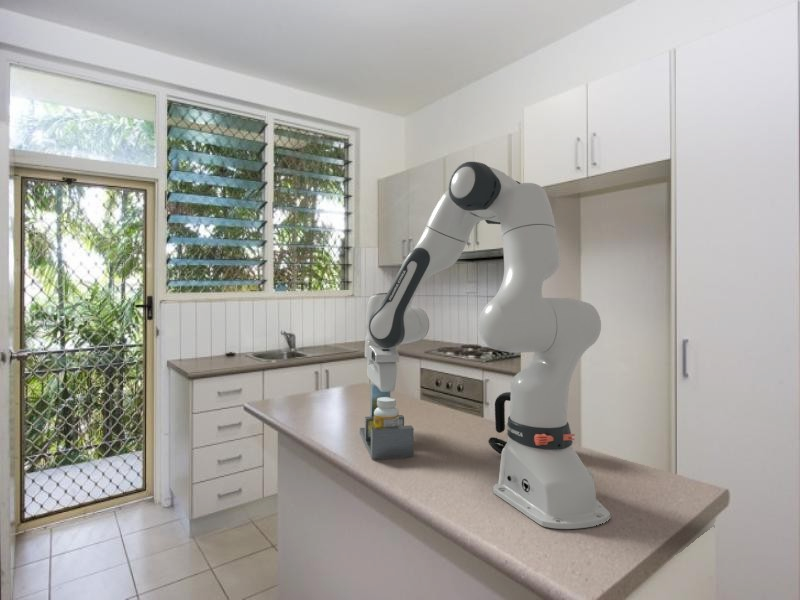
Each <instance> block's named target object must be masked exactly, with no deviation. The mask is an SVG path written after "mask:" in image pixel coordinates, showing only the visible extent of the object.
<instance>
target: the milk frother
mask: <svg viewBox="0 0 800 600" xmlns="http://www.w3.org/2000/svg"><path fill="white" fill-rule="evenodd" d="M510 396H511V391H510V392H509V391H506V392H502V393H500V394H499V395H498V396H497V397H496V399H495V401H494V421H495V422H494V423H495V431H496V433H498V434H500V433H503V432H504V431H505V429H506V421H505V420H506V418H505V417H506V415H505V414H506V413H505V412H506V411H505V410H506V409H505V407H506V406H505V405H506V401H507V402H508V401H509V402H510ZM506 443H507V441H505V440H503V439H500V438H497V437H489V438H488V444H489V445H490V447H491V448H492V449H493V451H495V452H497V453H498V454H499V455H501V453H502V450H503V448H504V447H505V445H506Z"/></svg>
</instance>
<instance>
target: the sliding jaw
mask: <svg viewBox="0 0 800 600" xmlns="http://www.w3.org/2000/svg"><path fill="white" fill-rule="evenodd" d="M381 397H391V392H381V391H380V390H379V389H378V388H377V387H376V385H375V384H370V400H369V401H370V403H369V404H370V406H369V407H370V409H369V410H370V411H369V413H370V414H369V415H370V416H364V428H365V440H371V428H374V411H375V409H376V408H378V406H377V399H378V398H381ZM399 426H405V416H404V415H403V414H399Z"/></svg>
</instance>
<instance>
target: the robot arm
mask: <svg viewBox="0 0 800 600" xmlns="http://www.w3.org/2000/svg"><path fill="white" fill-rule="evenodd" d="M552 209H553V208H552V205H551V203H550V199H549V197H548V195H547V192H546V190H545V189H544V188H543V187H542V186H541V185H539V184H537V183H534V182H522V183H521V182H519V181H517V180H515V179H513V178H512V177H511V176H509V175H507V174H506V173H505V172H503V171H501V170H500V169H497V168H494V167H491V166H489V165H487V164H485V163H483V162H480V161H466V162H464V163H461V164H460V165H458V167H457V168H456V169H454V171H453V173H452V174H451V176H450V180H449V181H448V190H446V191H445V192H444V193H443V194H442V195H441V197H440V198H439V200H438V202H437V203H436V204H435V207H434V208H433V210H432V212H431V214H430V216H429V218H428V220H427V223H426V226H425V227H424V230H423V232H422V234H421V236H420V238H419V240H417V243H416V245H415V247H413V249H412V250H411V251H410V252H409V254H408V255H407V257H406V258H405V259H404V261H403V263H402V264H401V267H400V269H399V271H398V272H397V273H396V276H395V278H394V279H393V281H392V282H391V283H392V284H391V286H390V287H389V289H388V291H387V292H379V293H374V294H372V295H371V296H370V297H369V299H368V302H367V305H366V312H365V328H366V335H365V339H364V358H366V359H367V362H366V363H367V364H366V376H367V378H368V379H369V380H370V381H371V383H373V385H376V387H377V388H378V389H379V390H380V391H381V392H390V393H391V392H394V391H395V387H396V383H397V373H398V372H397V371H398V364H397V363H399V362H400V354H399V351H398V347H397V346H399V345H405V344H410V343H415V342H418V341H421V340H423V339H424V338H425V337H427V334H428V332H429V329H430V321H429V317H428V315H427V313H426V311H424V310H423V309H422V308H420V307H417V306H415V305H412V301H413V300H414V298H415V296H416V294H417V292H418V291H419V288H420V287H421V286H422V284H423V283H424V282H425V281H426V280H427V279H429V278H430V277H432V276H434V275H435V274H437V273H439V272H441V271H444V270H446V269H449V268H451V267H452V266H454V265H455V264H456V263H457V261H458V259H460V257H461V255H462V254H463V252H464V250H465V247H466V245H467V242H468V240H469V238H470V235H471V233H472V231H473V229H474V228H475V226H476V225H477V224H478V223H479V222H482V221H484V222H486V223H487V225H488V224H489V225H500V230H501V240H502V241H501V242H502V250H503V264H504V265H503V266H504V268H503V270H504V271H503V278H502V282H501V285H500V287H499V288H498V289H499V290H498V291H497V293H496V294H495V295H494V297H493V298H492V299H491V300H490V301H489V302H487V303H486V304H485V305H484V307H483V309H482V310H481V312H480V313H479V314H480V315H479V318H478V332H479V334H480V337H481V339H482V340H483V343H484V344H485V345H486V346H487V347H488V348H489V349H491V350H496V351H499V352H505V353H511V354H513V353H514V354H516V353H517V354H519V353H533V355H532V357H531V359H530V362H529V363H528V365H526V367H525V368H523V369H522V370H521V371H519V372H517V373H516V374H515V375H514V377H513V378H512V380H511V383H510V392H511V396H510V401H509V402H510V403H509V416H508V418H507V423H506V429H507V434H506V435H507V436H508V438H507V441H506V442H507V443H506V445H505V447H504V448H503V450H502V453H501V454H500V463H499V465H500V466H499V475H498V482H497V483H495V484H494V485H493V488H492V493H493V494H494V495H496V496H497V497H499V498H500V499H502V500H503V501H505V502H506V503H508V504H509V505H510V506H512V507H513V508H515V509H516V510H518V511H519V512H521V513H522V514H523V515H525V516H527V518H529V519H531V520H532V521H534V522H535V523H537V524H538V525H539V526H542V527H545V528H549V529H550V528H551V529H555V530H557V529H558V530H559V529H560V530H573V529H585V528H592V527H596V525H597V526H600V525H599V524H601V525H603V524H605V522H606V521H607V522H609V521H610V520H611V517H612V516H611V512H610V511H609V510H608V509H607V508H606V507H605V506H604V505H603V504H602V503H601V502H600V501H599V500H598V499H597V495H596V494H597V493H596V485H595V481H594V473H593V471H592V470H591V469H590V468H587V467H586V466H585V464H584V463H583V462H582V460H581V458H580V457H579V455H578V453H577V452H576V450H575V449H574V447H573V442H574V441H575V439H576V438H573V437H574V436H575V435H576V434H575V433H572V430H571V428H570V424H569V422H568V405H569V404H568V403H569V402H568V401H569V389H570V383H571V380H572V377H573V374H574V372H575V369H576V366H577V365H578V363H579V361H580V359H581V358H582V357H583V355H584V353H585V352H586V351H588V349H589V348H591V347H592V346H594V344H595V343H596V342H597V341H598V339H599V338H600V334H601V330H602V322H601V321H602V320H601V316H600V314H599V312H598V310H597V309H596V308H595V307H596V306H594V305H592V303H590V302H586V301H583V300H578V299H574V298H570V297H544V296H543V291H542V289H543V284H544V282H545V281H546V280H548V279H550V278H551V277H552V276H553V275H555V273H556V272H557V271H558V269H559V267H560V264H561V255H560V248H559V243H558V242H559V241H558V236H557V228H556V223H555V217H554V213H553V210H552ZM609 519H610V520H609ZM608 520H609V521H608ZM607 522H606V523H607ZM602 523H603V524H602Z"/></svg>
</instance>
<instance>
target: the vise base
mask: <svg viewBox="0 0 800 600" xmlns="http://www.w3.org/2000/svg"><path fill="white" fill-rule="evenodd" d="M359 435H360V437H361V439H362V442H363V443H364V446H365V448H366V451H367V452H368V454H369V457H370V458H371V460H372V461H374V460H375V461H376V460H387V459H388V460H389V459H390V460H391V459H392V460H393V459H402V458H411V457H412V458H413V457H414V427H413V426H412V425H411V424H410V425H404V426H392V427H375V428H371V440H365V427H359Z"/></svg>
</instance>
